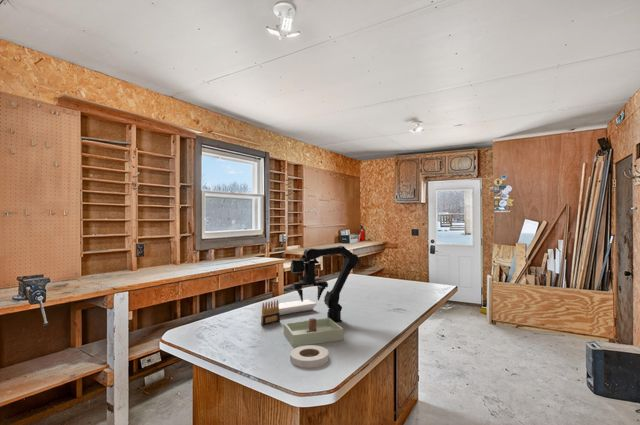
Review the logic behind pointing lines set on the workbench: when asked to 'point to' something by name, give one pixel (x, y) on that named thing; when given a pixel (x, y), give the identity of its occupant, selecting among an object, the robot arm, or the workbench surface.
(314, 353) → the roll of tape
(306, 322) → the box
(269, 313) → the ammunition clip
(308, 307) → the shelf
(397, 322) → the workbench surface
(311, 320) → the peg
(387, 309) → the workbench surface
